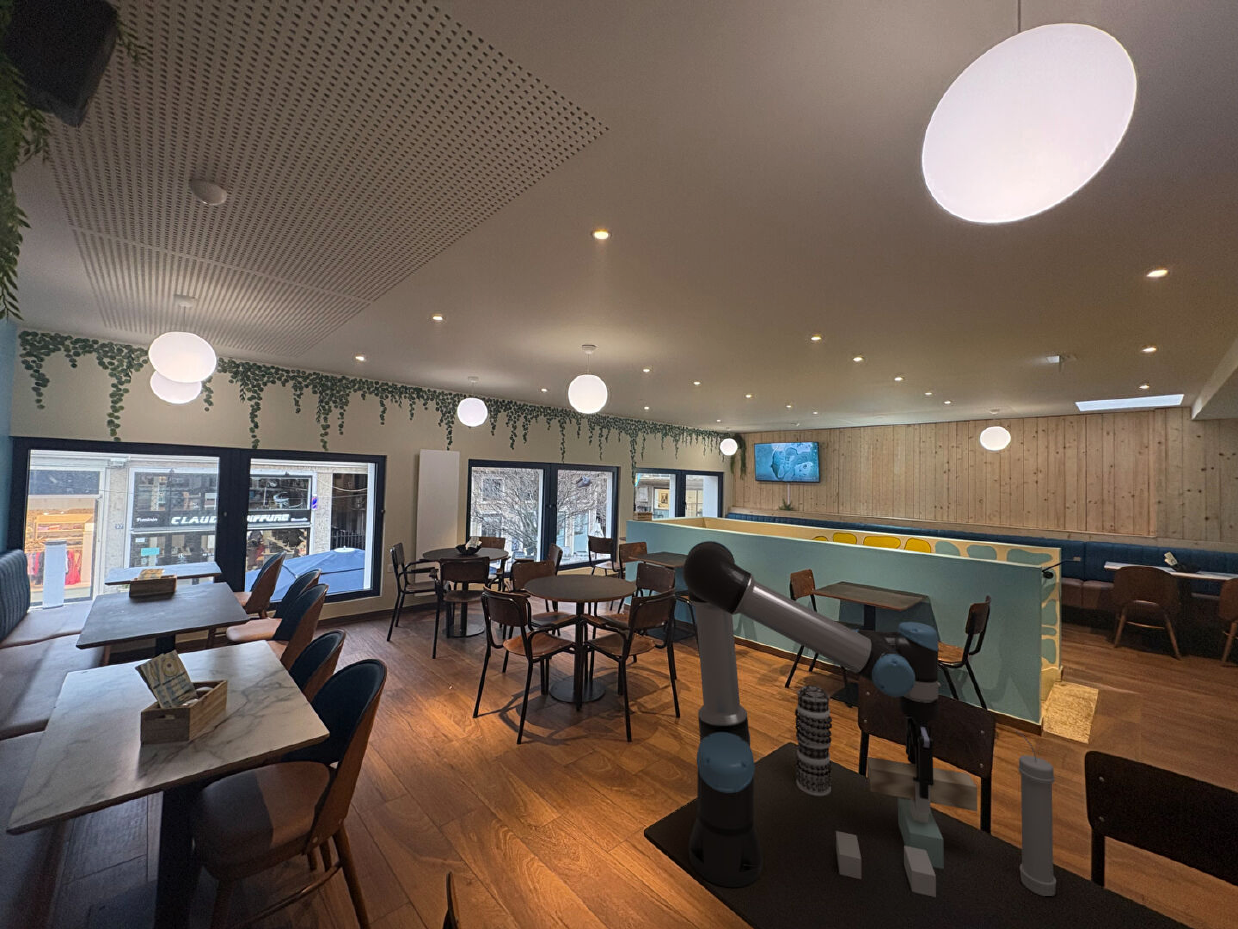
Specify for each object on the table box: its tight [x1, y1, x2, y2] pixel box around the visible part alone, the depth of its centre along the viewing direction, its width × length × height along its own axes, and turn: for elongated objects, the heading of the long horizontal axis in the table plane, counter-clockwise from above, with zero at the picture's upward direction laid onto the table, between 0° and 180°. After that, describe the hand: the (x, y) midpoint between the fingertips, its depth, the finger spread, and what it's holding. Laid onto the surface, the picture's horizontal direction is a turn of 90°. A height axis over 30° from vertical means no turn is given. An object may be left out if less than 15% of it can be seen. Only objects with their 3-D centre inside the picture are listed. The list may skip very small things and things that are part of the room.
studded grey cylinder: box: [794, 684, 833, 797], centre depth 130 cm, size 9×9×25 cm
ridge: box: [897, 797, 945, 870], centre depth 109 cm, size 6×12×10 cm, turn 161°
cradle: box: [835, 830, 937, 898], centre depth 101 cm, size 17×7×4 cm, turn 71°
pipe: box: [1015, 730, 1057, 897], centre depth 99 cm, size 6×6×30 cm
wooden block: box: [866, 756, 978, 812], centre depth 109 cm, size 20×5×5 cm, turn 71°
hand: (919, 802), depth 109 cm, fingers open, 5 cm apart
